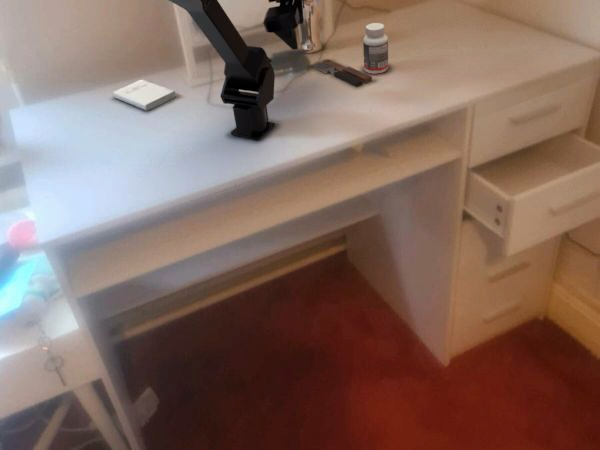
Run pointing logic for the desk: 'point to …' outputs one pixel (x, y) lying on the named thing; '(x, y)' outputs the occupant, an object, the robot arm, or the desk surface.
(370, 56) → the pill bottle
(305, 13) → the beer glass
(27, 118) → the desk surface
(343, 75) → the black-handled fork
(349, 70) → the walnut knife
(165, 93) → the hard drive
